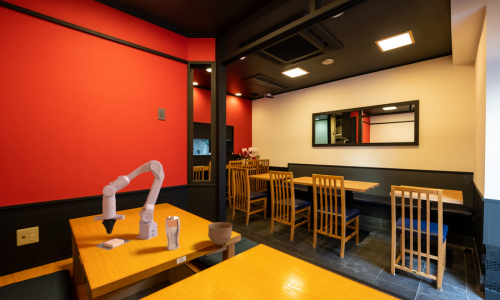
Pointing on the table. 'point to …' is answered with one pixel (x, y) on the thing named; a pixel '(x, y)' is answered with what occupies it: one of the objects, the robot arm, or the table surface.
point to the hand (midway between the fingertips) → (109, 233)
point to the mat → (110, 247)
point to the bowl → (220, 232)
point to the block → (114, 243)
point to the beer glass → (172, 232)
